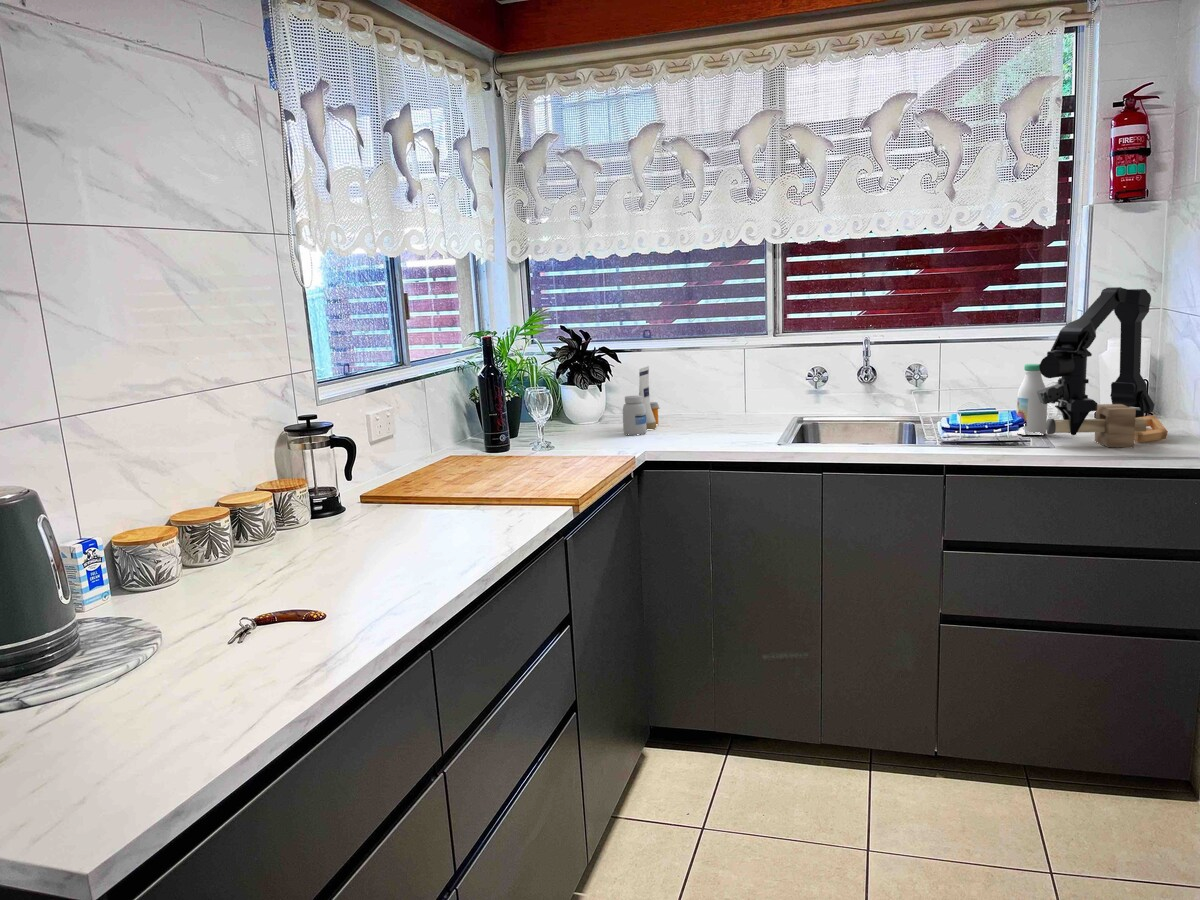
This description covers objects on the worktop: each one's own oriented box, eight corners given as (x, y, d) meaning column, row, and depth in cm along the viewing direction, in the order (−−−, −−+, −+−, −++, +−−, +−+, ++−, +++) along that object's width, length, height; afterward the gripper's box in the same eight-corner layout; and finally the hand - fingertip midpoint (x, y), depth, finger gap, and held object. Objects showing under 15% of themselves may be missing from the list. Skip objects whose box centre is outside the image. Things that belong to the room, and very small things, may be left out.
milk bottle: (1045, 432, 261) (1048, 362, 257) (1046, 437, 254) (1049, 365, 250) (1016, 432, 264) (1018, 363, 260) (1015, 436, 257) (1018, 365, 254)
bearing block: (1094, 441, 244) (1096, 404, 242) (1118, 441, 243) (1120, 404, 241) (1108, 448, 234) (1110, 409, 233) (1133, 447, 233) (1135, 409, 231)
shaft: (1045, 432, 243) (1046, 417, 242) (1140, 431, 239) (1141, 416, 238) (1050, 435, 239) (1051, 420, 238) (1146, 433, 235) (1147, 418, 234)
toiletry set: (642, 436, 288) (640, 371, 284) (620, 436, 290) (617, 371, 287) (665, 424, 311) (663, 364, 307) (644, 424, 313) (642, 364, 310)
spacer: (1137, 435, 238) (1125, 419, 244) (1136, 442, 239) (1123, 426, 245) (1167, 431, 237) (1154, 415, 243) (1166, 438, 238) (1152, 422, 244)
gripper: (1030, 372, 248) (1028, 428, 250) (1051, 379, 230) (1049, 440, 232) (1074, 371, 246) (1071, 428, 248) (1099, 378, 228) (1096, 439, 230)
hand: (1071, 433), depth 240 cm, fingers closed on shaft, 3 cm apart
